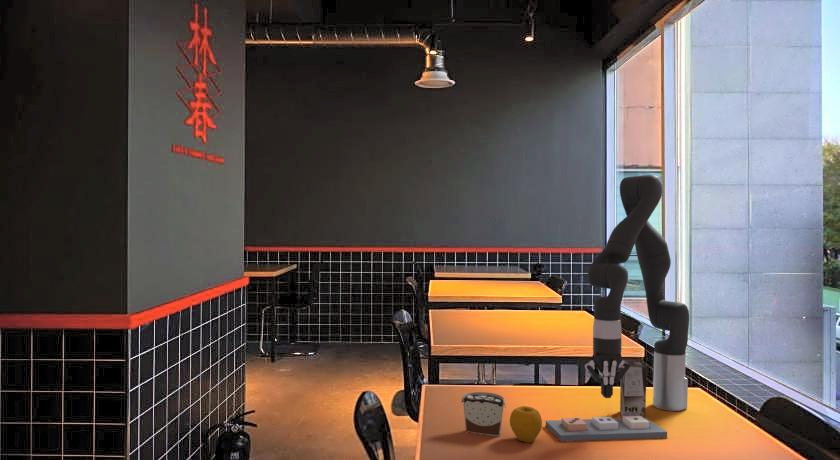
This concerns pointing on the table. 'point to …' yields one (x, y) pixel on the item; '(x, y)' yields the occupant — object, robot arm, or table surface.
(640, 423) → the tile one
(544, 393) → the table surface
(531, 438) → the apple
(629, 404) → the coffee box
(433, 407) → the table surface
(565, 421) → the tile three
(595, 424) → the tile two
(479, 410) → the food container
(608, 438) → the button board
